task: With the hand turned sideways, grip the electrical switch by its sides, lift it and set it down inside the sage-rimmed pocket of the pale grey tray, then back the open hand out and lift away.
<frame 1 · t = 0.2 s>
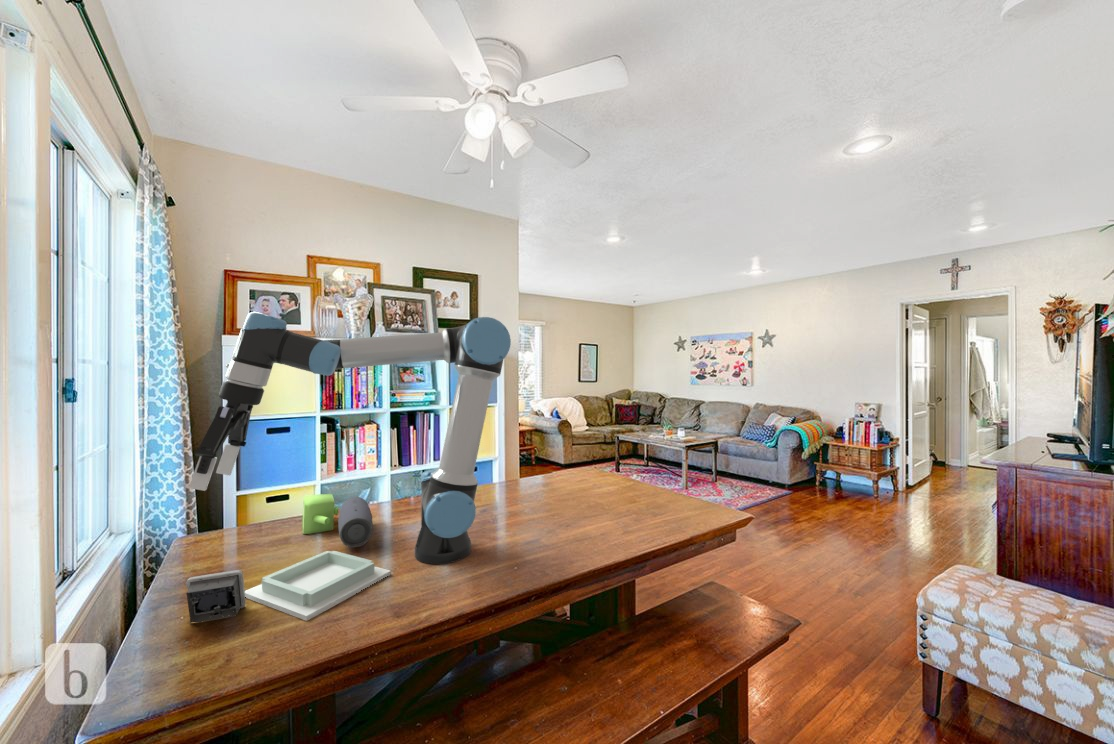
hand: (211, 481, 92), 27 cm above the table, tool tilted 15°, fingers open, 13 cm apart
gearbox: (321, 528, 141), on the table
bluetooth speaker: (355, 538, 133), on the table
pocket tray: (320, 585, 104), on the table
electrical switch: (217, 618, 90), on the table
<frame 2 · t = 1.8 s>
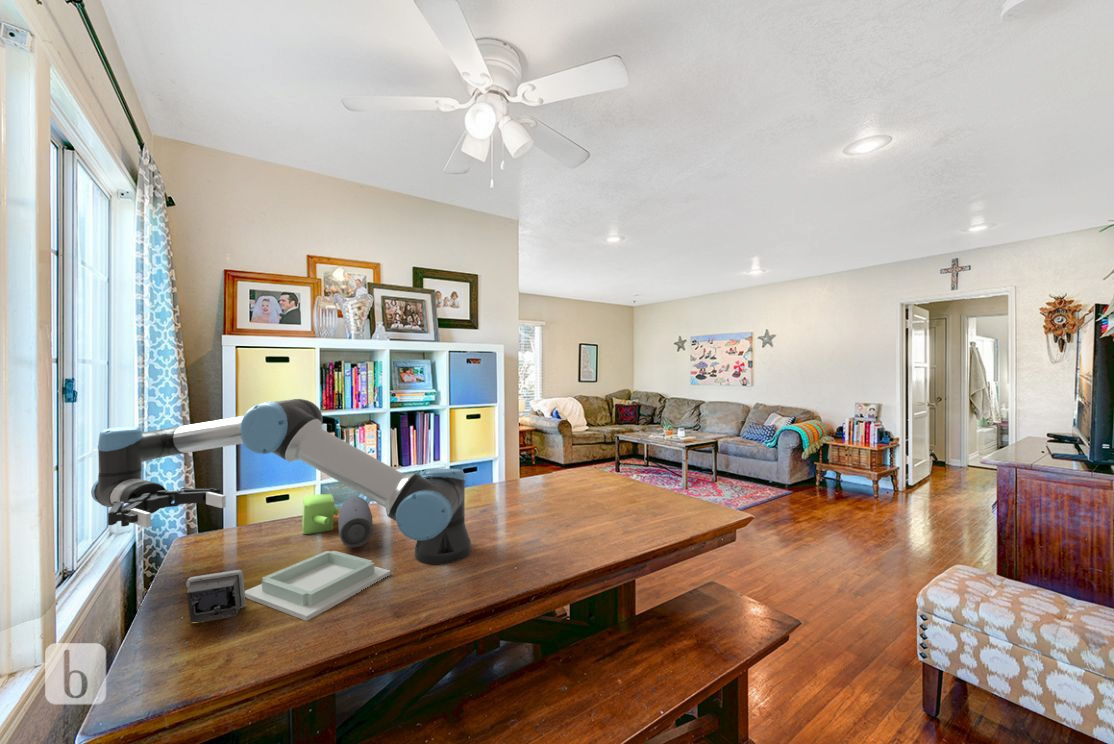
hand: (188, 510, 95), 20 cm above the table, tool horizontal, fingers open, 13 cm apart
nothing on the table moved.
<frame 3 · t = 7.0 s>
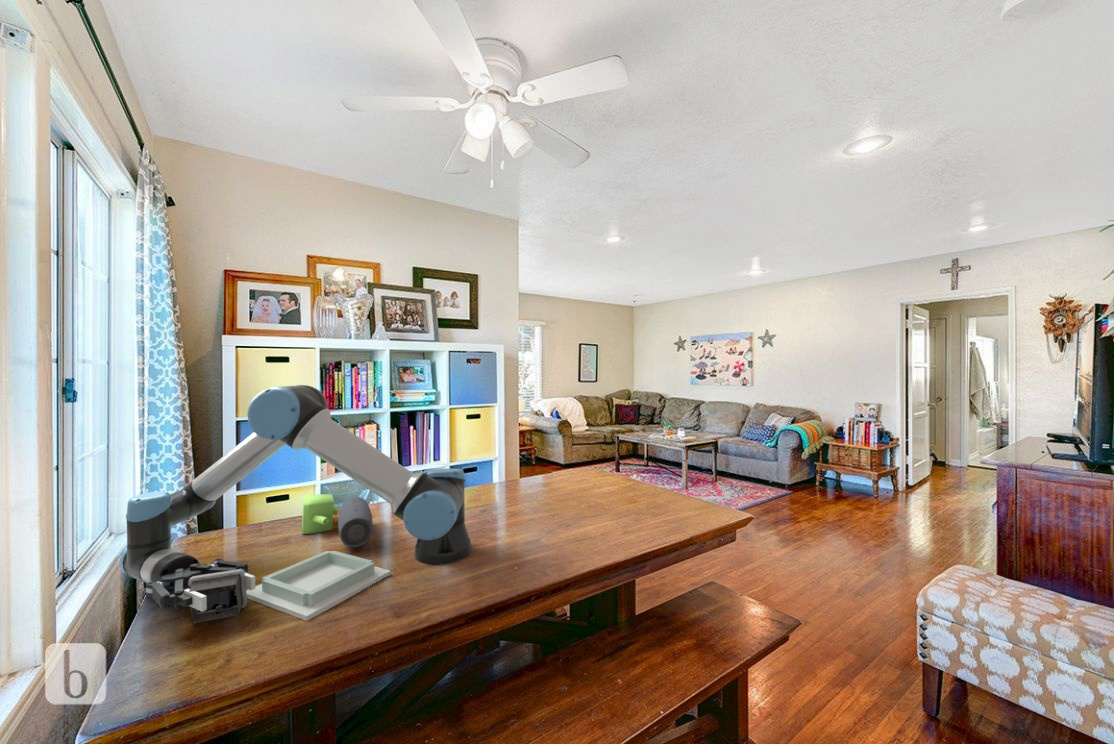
hand: (229, 593, 88), 6 cm above the table, tool horizontal, fingers closed on electrical switch, 8 cm apart
electrical switch: (218, 617, 91), on the table, touching gripper
everything else where it was.
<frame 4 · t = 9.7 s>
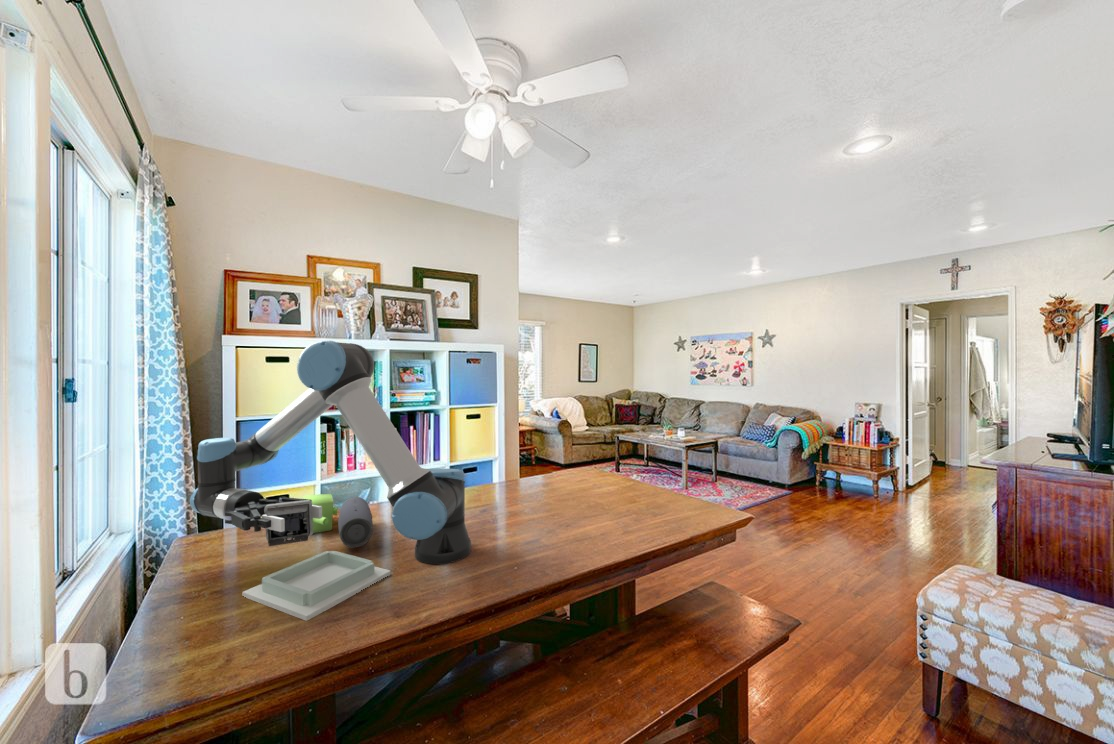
hand: (302, 518, 98), 18 cm above the table, tool horizontal, fingers closed on electrical switch, 8 cm apart
electrical switch: (290, 542, 100), point 11 cm above the table, touching gripper
everything else where it was.
when the fingers open (8 cm above the table, at t = 12.8 s): electrical switch drops 1 cm, resting on pocket tray.
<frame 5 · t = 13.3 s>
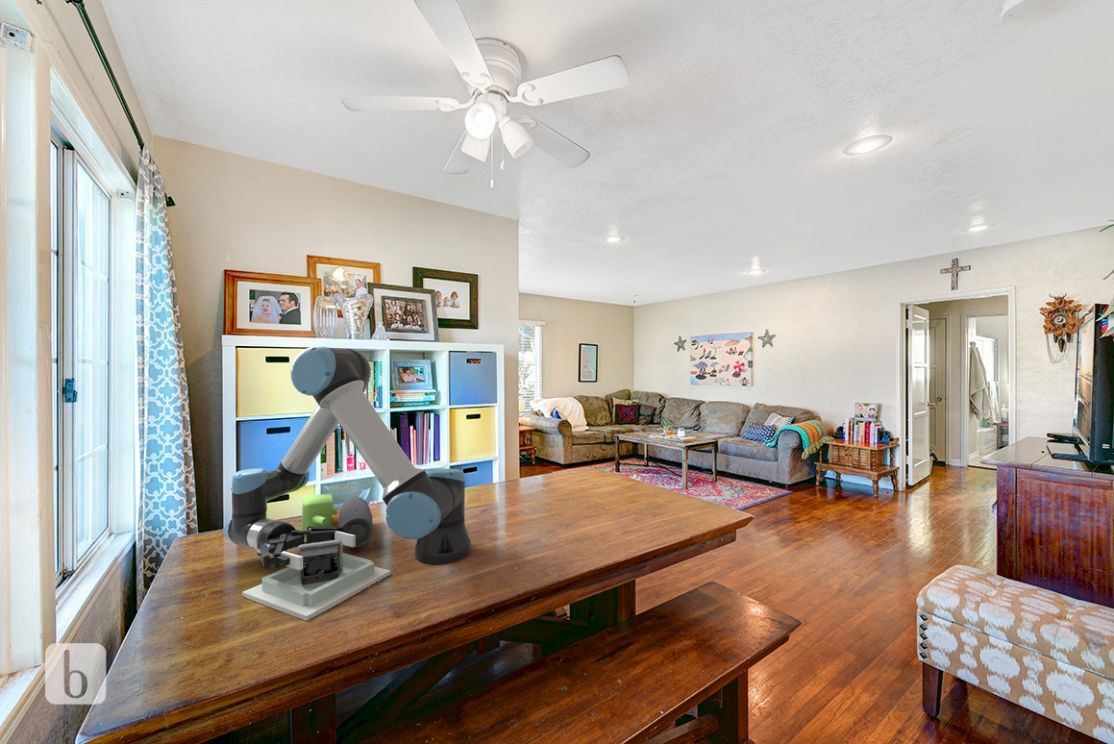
hand: (329, 551, 102), 8 cm above the table, tool horizontal, fingers open, 13 cm apart
electrical switch: (321, 581, 104), point 1 cm above the table, touching pocket tray
everything else where it was.
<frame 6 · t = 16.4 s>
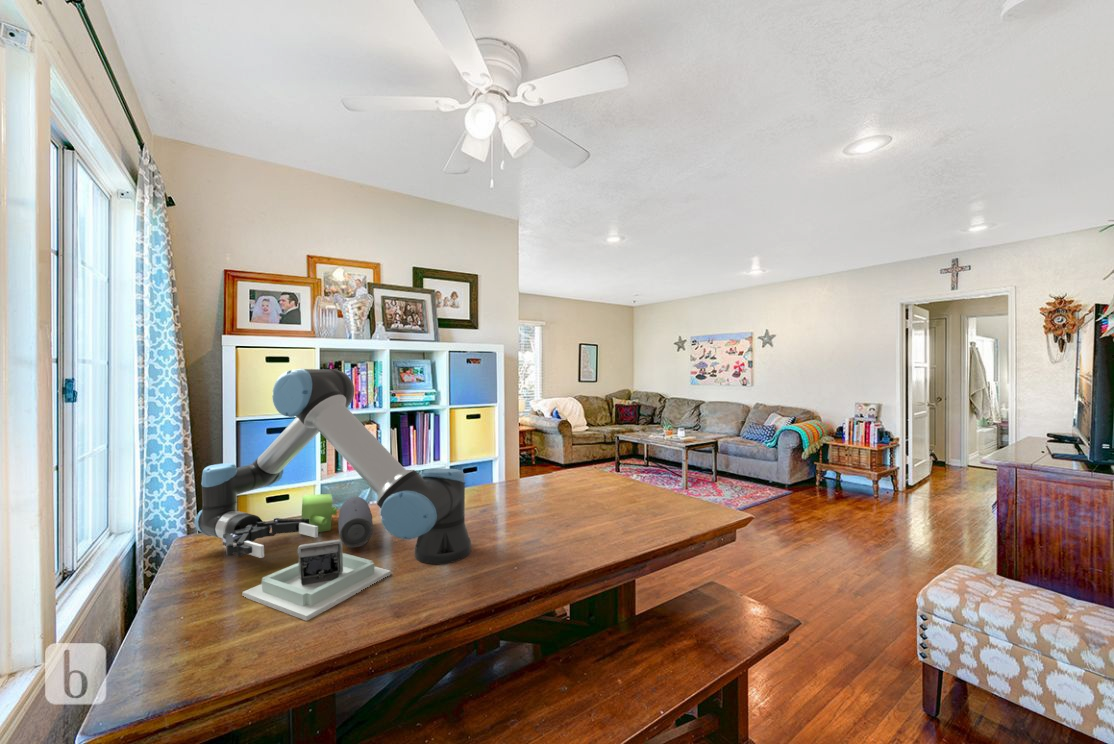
hand: (291, 541, 108), 9 cm above the table, tool horizontal, fingers open, 13 cm apart
nothing on the table moved.
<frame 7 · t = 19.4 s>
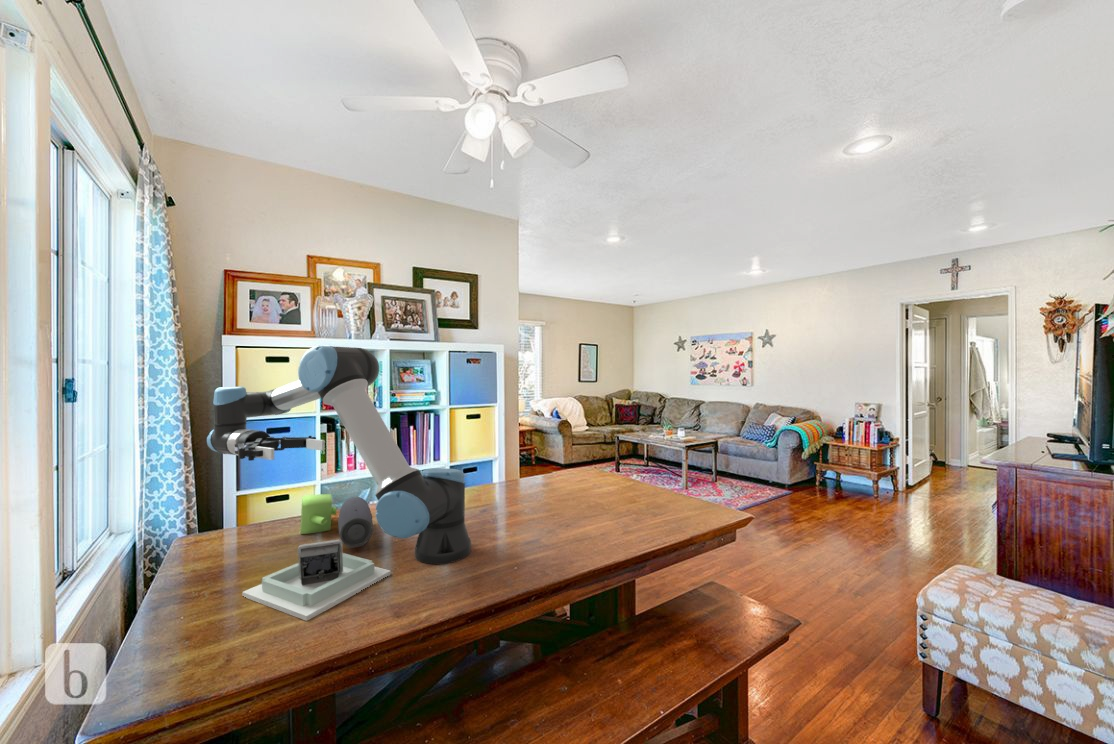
hand: (299, 449, 114), 30 cm above the table, tool horizontal, fingers open, 13 cm apart
nothing on the table moved.
at the end: electrical switch 0.4 cm off-centre on the pocket tray, point 0.8 cm above the pocket tray's base; electrical switch tilted 0°; the gripper is holding nothing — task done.
